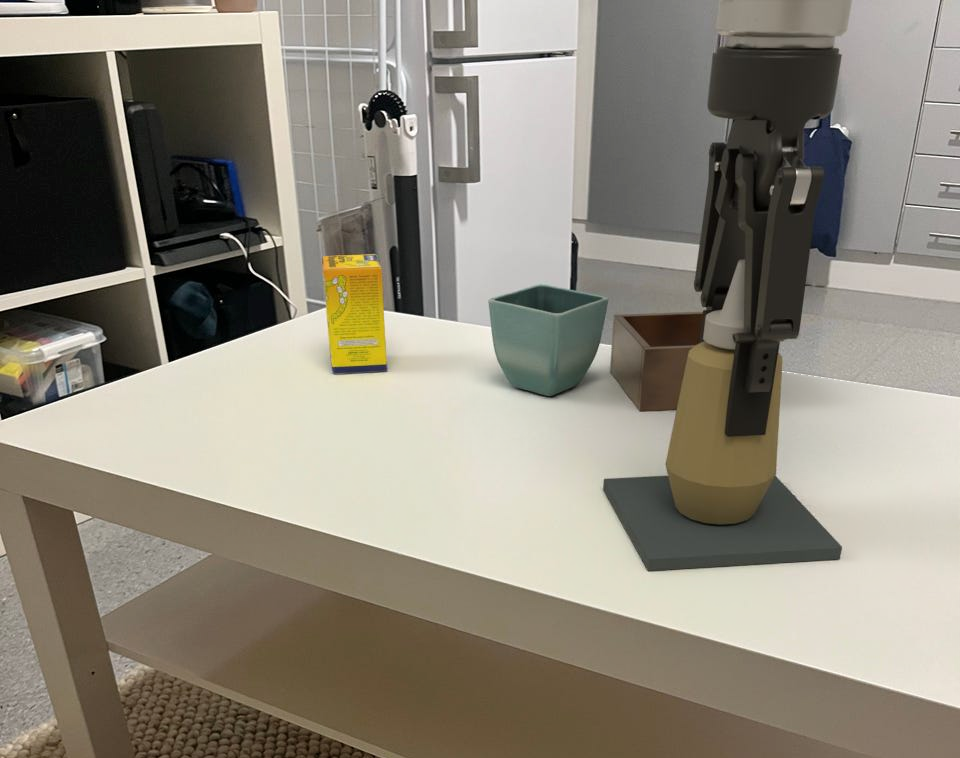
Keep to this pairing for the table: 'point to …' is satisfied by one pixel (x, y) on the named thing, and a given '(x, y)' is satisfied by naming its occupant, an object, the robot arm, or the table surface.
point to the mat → (716, 529)
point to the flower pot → (546, 336)
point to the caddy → (653, 355)
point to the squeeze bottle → (719, 427)
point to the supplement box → (355, 313)
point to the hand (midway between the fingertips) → (727, 415)
